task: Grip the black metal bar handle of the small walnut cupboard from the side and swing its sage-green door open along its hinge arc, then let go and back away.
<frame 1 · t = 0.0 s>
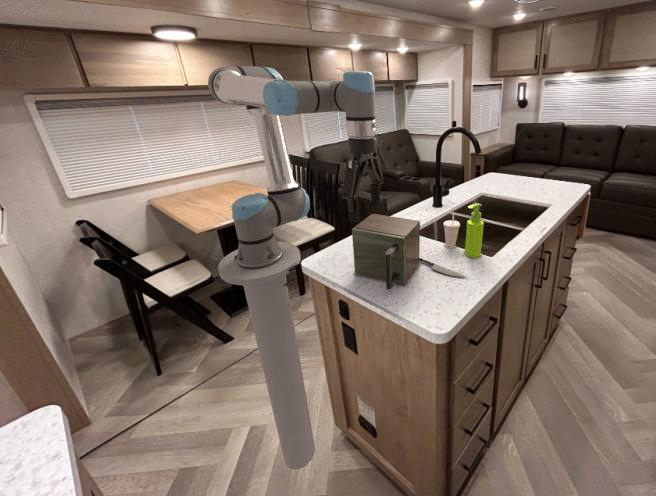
hand: (365, 213, 91), 25 cm above the countertop, tool pointing down, fingers open, 13 cm apart
soap dispenser: (471, 254, 121), on the countertop
cupboard: (388, 268, 112), on the countertop
cupboard door: (373, 261, 99), point 9 cm above the countertop, hinge at 0.0°
smoothie: (450, 246, 127), on the countertop
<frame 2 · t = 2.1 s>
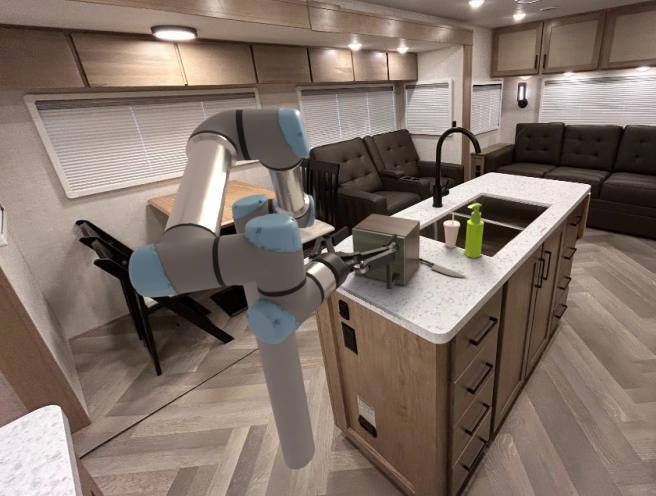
hand: (370, 234, 80), 24 cm above the countertop, tool horizontal, fingers open, 13 cm apart
nothing on the countertop moved.
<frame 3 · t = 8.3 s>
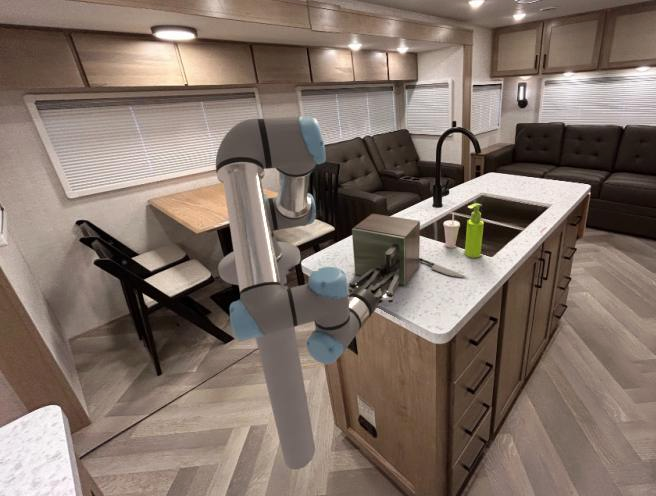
hand: (395, 263, 98), 8 cm above the countertop, tool horizontal, fingers closed on cupboard door, 2 cm apart
cupboard door: (373, 261, 99), point 9 cm above the countertop, hinge at 0.0°, touching gripper
everything else where it was.
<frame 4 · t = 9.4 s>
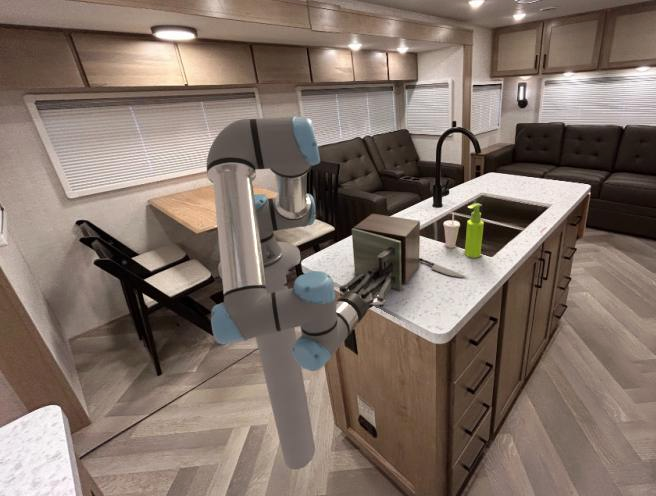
hand: (387, 266, 97), 8 cm above the countertop, tool horizontal, fingers closed
cupboard door: (369, 263, 98), point 9 cm above the countertop, hinge at 9.3°, touching gripper
everything else where it was.
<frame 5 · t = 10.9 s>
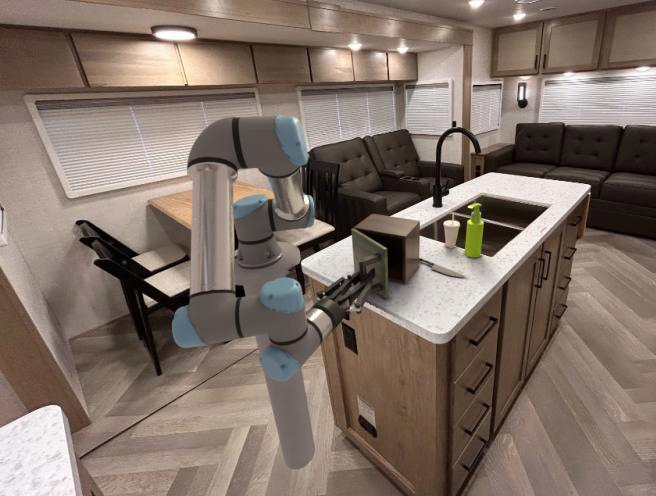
hand: (369, 271, 94), 8 cm above the countertop, tool horizontal, fingers open, 2 cm apart
cupboard door: (359, 266, 97), point 9 cm above the countertop, hinge at 28.6°, touching gripper
everything else where it was.
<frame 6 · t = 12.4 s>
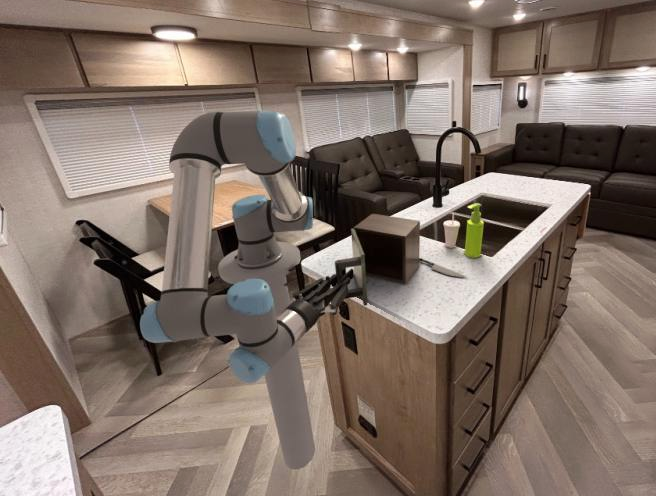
hand: (348, 272, 94), 8 cm above the countertop, tool horizontal, fingers closed on cupboard door, 2 cm apart
cupboard door: (347, 266, 97), point 8 cm above the countertop, hinge at 50.8°, touching gripper
everything else where it was.
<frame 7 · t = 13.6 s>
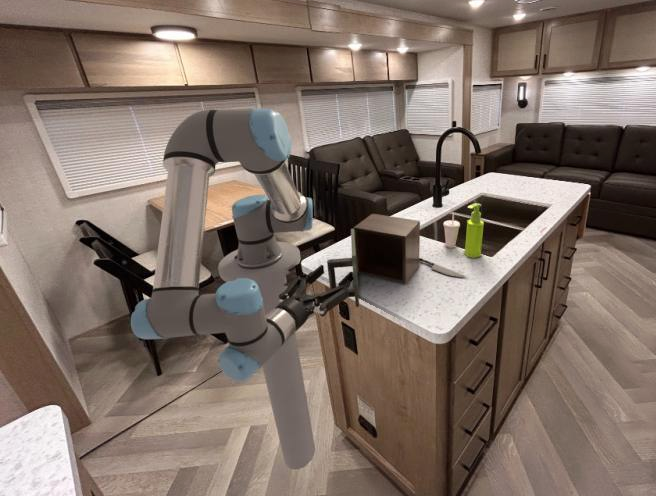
hand: (337, 272, 94), 9 cm above the countertop, tool horizontal, fingers open, 9 cm apart
cupboard door: (343, 266, 97), point 9 cm above the countertop, hinge at 58.3°, touching gripper
everything else where it was.
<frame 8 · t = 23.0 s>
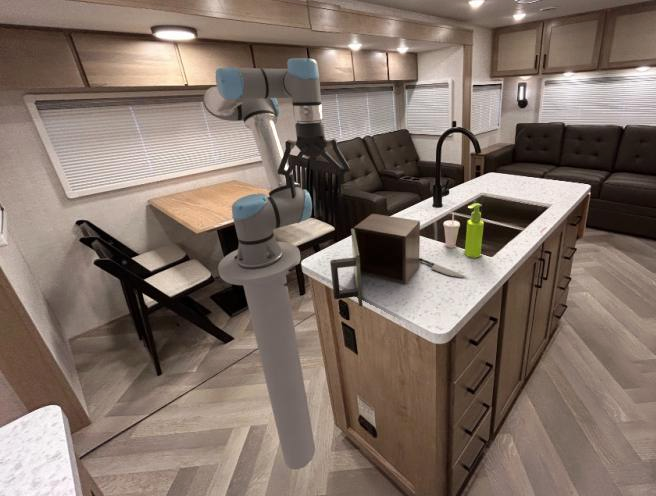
hand: (317, 196, 95), 29 cm above the countertop, tool pointing down, fingers open, 13 cm apart
cupboard door: (345, 266, 97), point 9 cm above the countertop, hinge at 55.2°
everything else where it was.
at the end: cupboard door at +55° (first picture: +0°); the gripper is holding nothing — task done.
